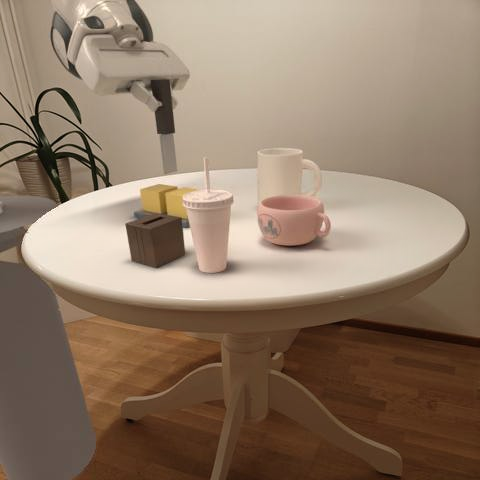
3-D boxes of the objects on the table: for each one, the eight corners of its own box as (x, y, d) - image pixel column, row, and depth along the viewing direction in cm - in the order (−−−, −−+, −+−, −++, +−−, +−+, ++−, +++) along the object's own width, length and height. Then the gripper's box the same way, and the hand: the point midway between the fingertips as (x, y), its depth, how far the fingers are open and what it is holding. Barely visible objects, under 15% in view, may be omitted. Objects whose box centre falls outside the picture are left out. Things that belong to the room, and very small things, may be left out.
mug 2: (244, 242, 65) (243, 204, 62) (283, 226, 72) (283, 191, 69) (309, 260, 58) (311, 218, 55) (345, 241, 64) (349, 202, 62)
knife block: (131, 261, 60) (124, 223, 57) (161, 248, 64) (156, 212, 61) (156, 268, 57) (150, 229, 55) (185, 254, 62) (181, 217, 59)
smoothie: (237, 258, 60) (233, 153, 53) (234, 276, 54) (230, 162, 47) (192, 258, 60) (183, 154, 53) (185, 277, 54) (173, 163, 48)
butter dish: (134, 217, 79) (133, 212, 79) (164, 207, 85) (163, 202, 84) (186, 228, 73) (185, 222, 72) (214, 216, 78) (214, 211, 78)
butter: (142, 210, 79) (139, 189, 77) (161, 204, 83) (159, 183, 81) (187, 219, 74) (185, 196, 72) (205, 212, 77) (204, 190, 75)
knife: (160, 173, 74) (148, 80, 67) (172, 170, 76) (161, 79, 69) (169, 174, 73) (158, 79, 66) (181, 171, 75) (171, 79, 68)
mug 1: (322, 204, 83) (326, 148, 78) (317, 216, 76) (320, 155, 71) (263, 201, 86) (263, 147, 81) (253, 212, 79) (252, 154, 74)
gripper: (153, 57, 79) (197, 116, 79) (57, 57, 65) (111, 128, 65) (167, 26, 74) (214, 89, 74) (67, 19, 60) (125, 95, 60)
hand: (165, 107), depth 69 cm, fingers closed on knife, 2 cm apart
